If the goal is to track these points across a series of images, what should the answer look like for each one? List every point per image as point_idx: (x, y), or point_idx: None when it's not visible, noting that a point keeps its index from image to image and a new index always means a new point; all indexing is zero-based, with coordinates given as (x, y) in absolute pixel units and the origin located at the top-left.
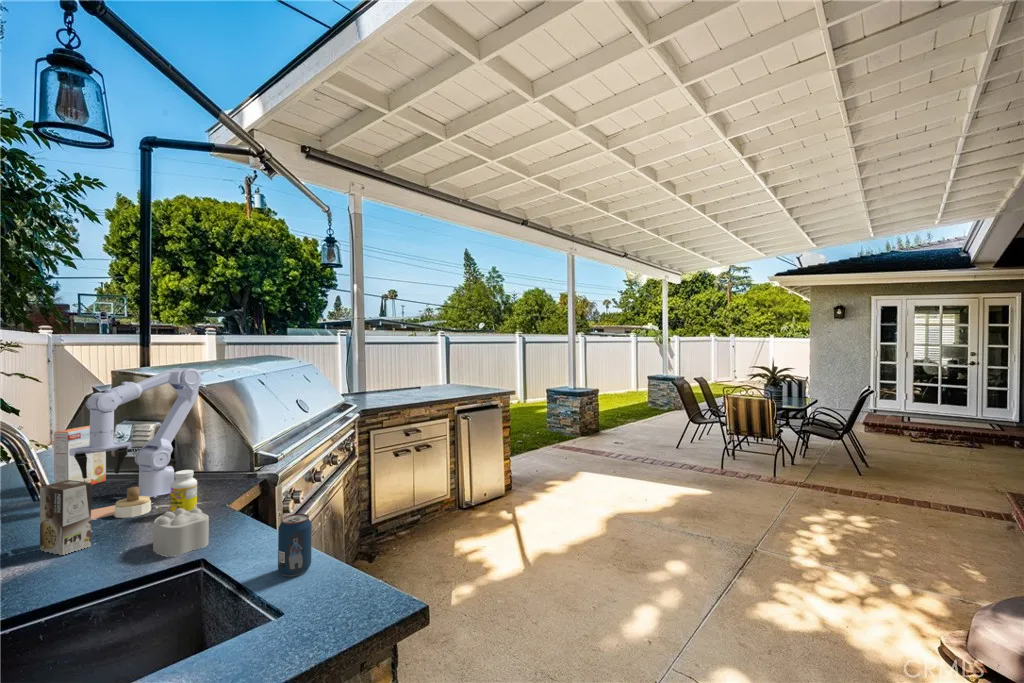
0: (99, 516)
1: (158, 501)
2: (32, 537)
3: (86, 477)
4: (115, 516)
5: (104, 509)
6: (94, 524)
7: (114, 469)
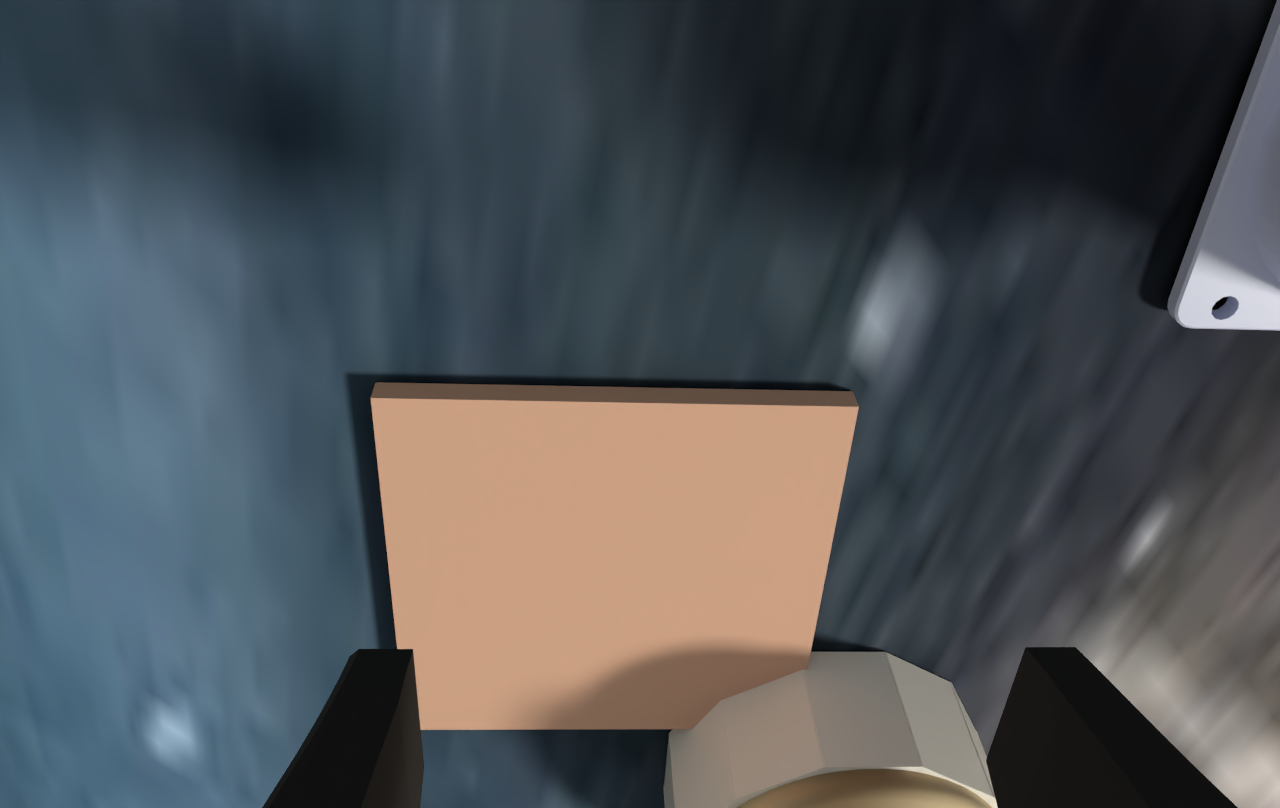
0: (557, 696)
1: (1225, 515)
2: (21, 791)
3: (417, 787)
4: (666, 797)
5: (661, 497)
6: (489, 795)
7: (1060, 707)
